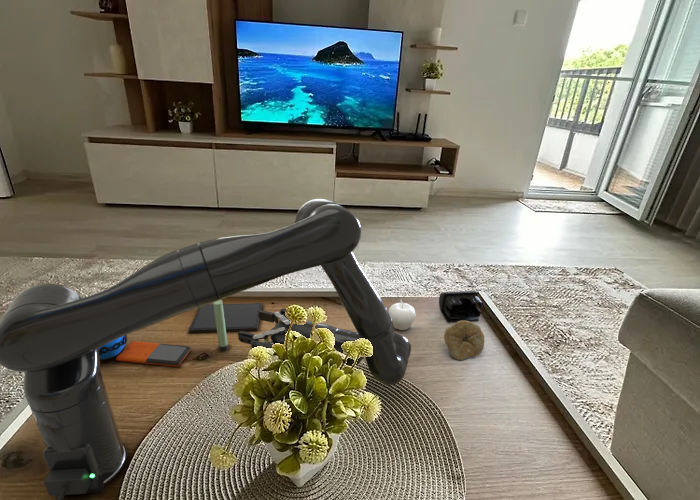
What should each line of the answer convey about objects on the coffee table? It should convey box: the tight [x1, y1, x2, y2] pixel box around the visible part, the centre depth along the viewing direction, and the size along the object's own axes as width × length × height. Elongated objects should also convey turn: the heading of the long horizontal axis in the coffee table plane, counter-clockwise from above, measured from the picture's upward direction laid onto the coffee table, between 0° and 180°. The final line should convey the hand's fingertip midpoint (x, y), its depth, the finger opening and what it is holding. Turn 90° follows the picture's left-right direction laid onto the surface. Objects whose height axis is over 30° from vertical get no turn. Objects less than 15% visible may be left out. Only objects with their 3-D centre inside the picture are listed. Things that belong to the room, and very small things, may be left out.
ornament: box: [98, 334, 128, 360], centre depth 90 cm, size 9×9×10 cm
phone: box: [115, 340, 192, 368], centre depth 92 cm, size 6×1×15 cm
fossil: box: [443, 321, 486, 361], centre depth 97 cm, size 9×4×10 cm
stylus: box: [212, 299, 229, 352], centre depth 93 cm, size 2×2×13 cm
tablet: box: [188, 302, 263, 334], centre depth 106 cm, size 12×17×1 cm
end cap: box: [438, 290, 483, 324], centre depth 110 cm, size 10×7×7 cm
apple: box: [388, 299, 417, 331], centre depth 104 cm, size 7×7×8 cm
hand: (249, 324), depth 89 cm, fingers open, 8 cm apart
